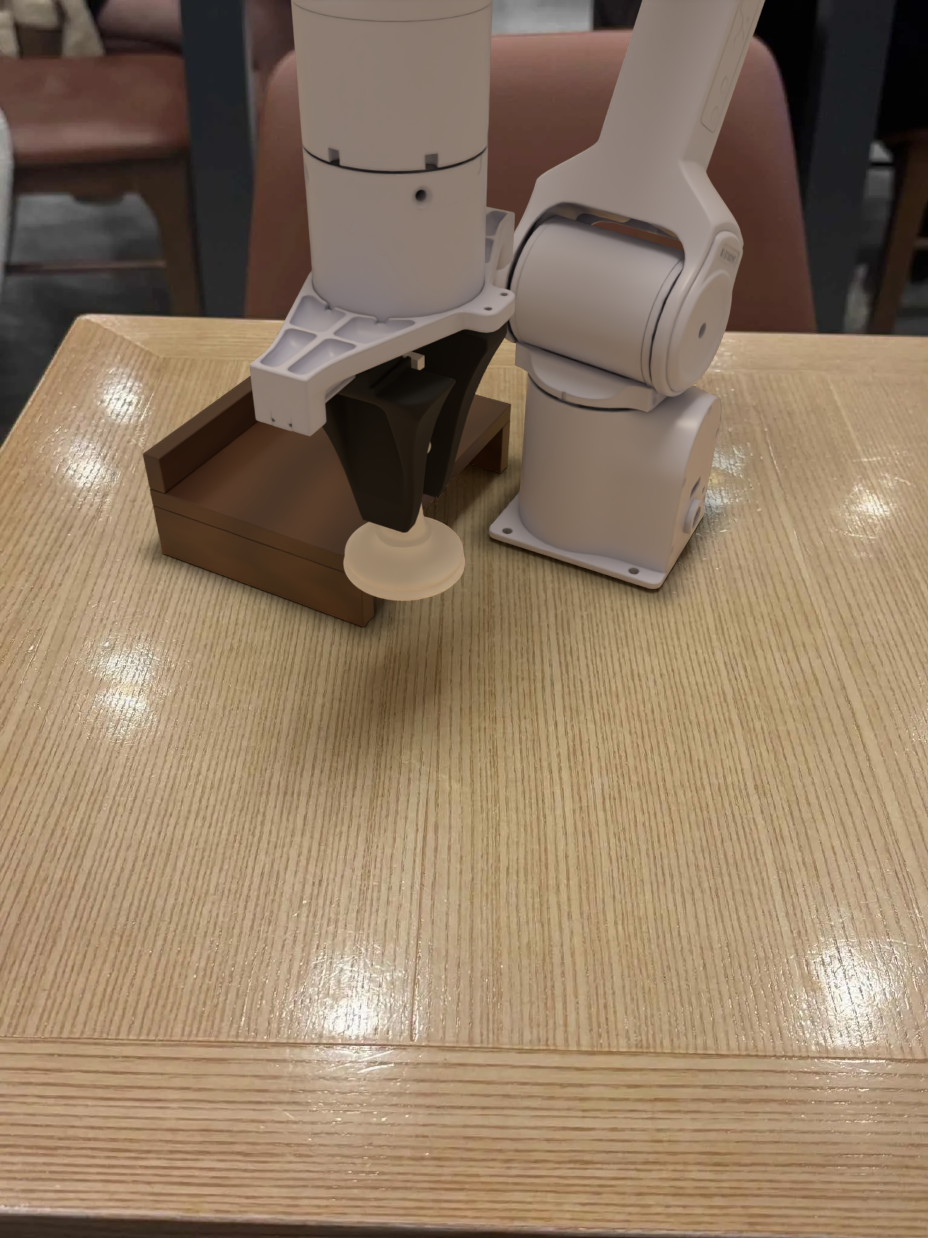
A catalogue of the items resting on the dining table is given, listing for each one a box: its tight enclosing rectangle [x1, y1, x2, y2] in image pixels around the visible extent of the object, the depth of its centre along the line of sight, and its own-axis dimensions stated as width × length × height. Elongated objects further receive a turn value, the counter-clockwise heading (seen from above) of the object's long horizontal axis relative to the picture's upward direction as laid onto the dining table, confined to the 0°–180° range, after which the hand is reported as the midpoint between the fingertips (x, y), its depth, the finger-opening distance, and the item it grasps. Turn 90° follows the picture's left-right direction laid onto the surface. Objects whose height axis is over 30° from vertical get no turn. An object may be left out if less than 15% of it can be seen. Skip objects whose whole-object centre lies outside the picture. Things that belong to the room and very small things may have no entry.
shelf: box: [142, 374, 512, 628], centre depth 57 cm, size 12×16×6 cm
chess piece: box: [344, 352, 466, 602], centre depth 41 cm, size 5×5×10 cm
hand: (403, 504), depth 43 cm, fingers closed on chess piece
